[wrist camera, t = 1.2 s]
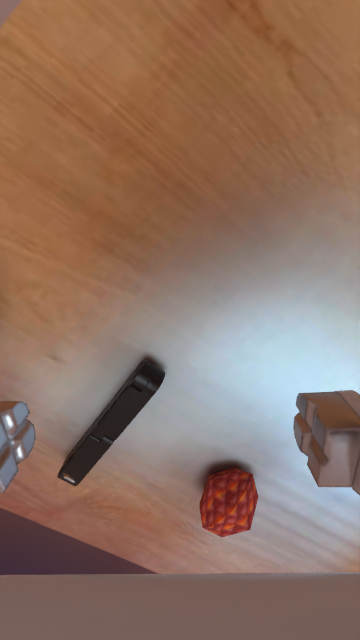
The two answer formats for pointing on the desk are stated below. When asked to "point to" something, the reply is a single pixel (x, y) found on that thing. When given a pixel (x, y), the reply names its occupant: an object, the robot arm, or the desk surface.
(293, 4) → the desk surface
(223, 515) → the decorative stone
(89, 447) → the black stapler
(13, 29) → the desk surface
